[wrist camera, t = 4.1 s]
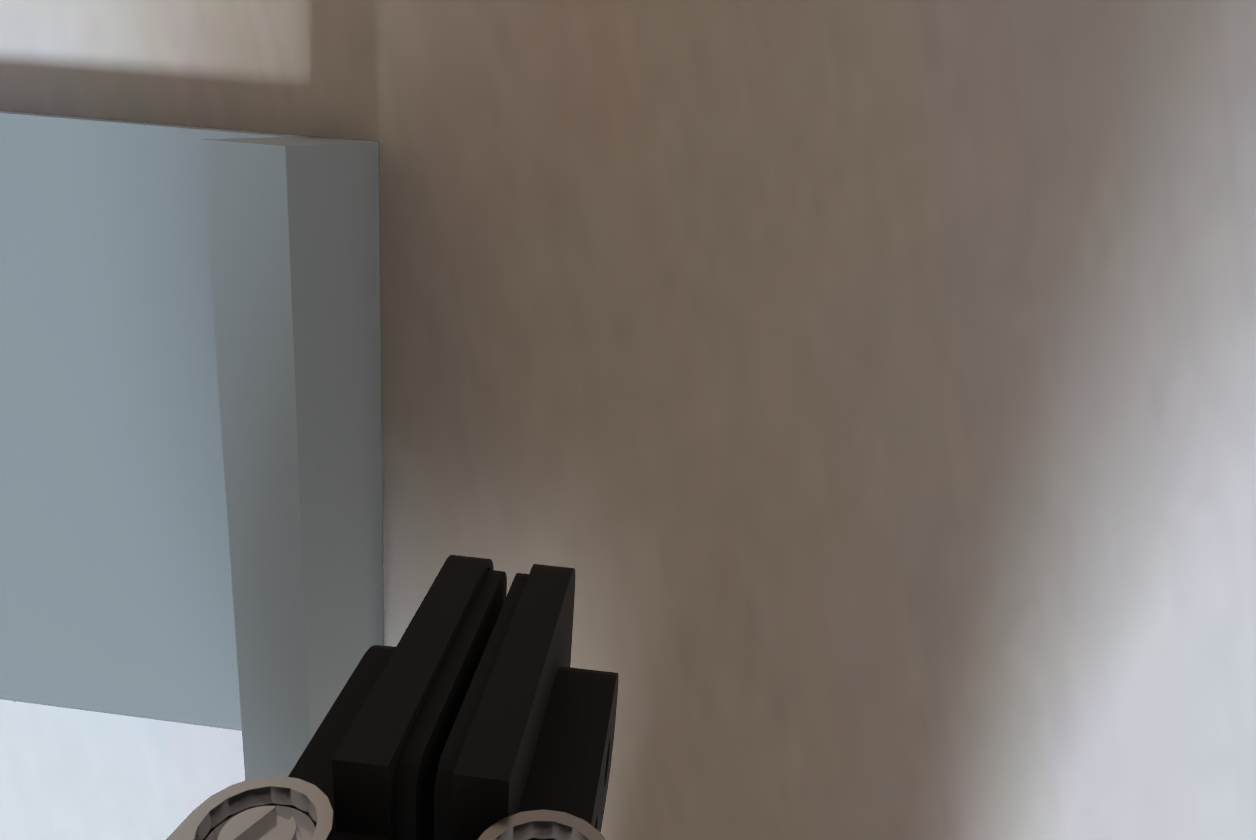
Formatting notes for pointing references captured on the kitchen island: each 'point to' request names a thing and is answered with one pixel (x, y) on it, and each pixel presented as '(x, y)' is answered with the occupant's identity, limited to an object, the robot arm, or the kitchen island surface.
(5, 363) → the grey l-shaped bracket
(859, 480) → the kitchen island surface
